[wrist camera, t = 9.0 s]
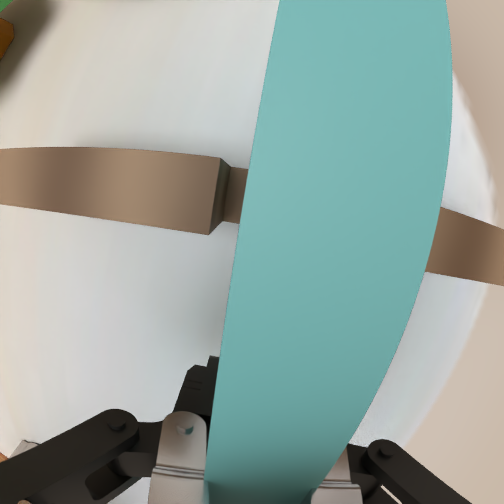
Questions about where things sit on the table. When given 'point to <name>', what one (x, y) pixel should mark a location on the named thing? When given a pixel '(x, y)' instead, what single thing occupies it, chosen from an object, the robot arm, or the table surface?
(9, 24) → the decorative tree
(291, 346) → the teal slotted plate
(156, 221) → the walnut slotted board
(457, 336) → the table surface
